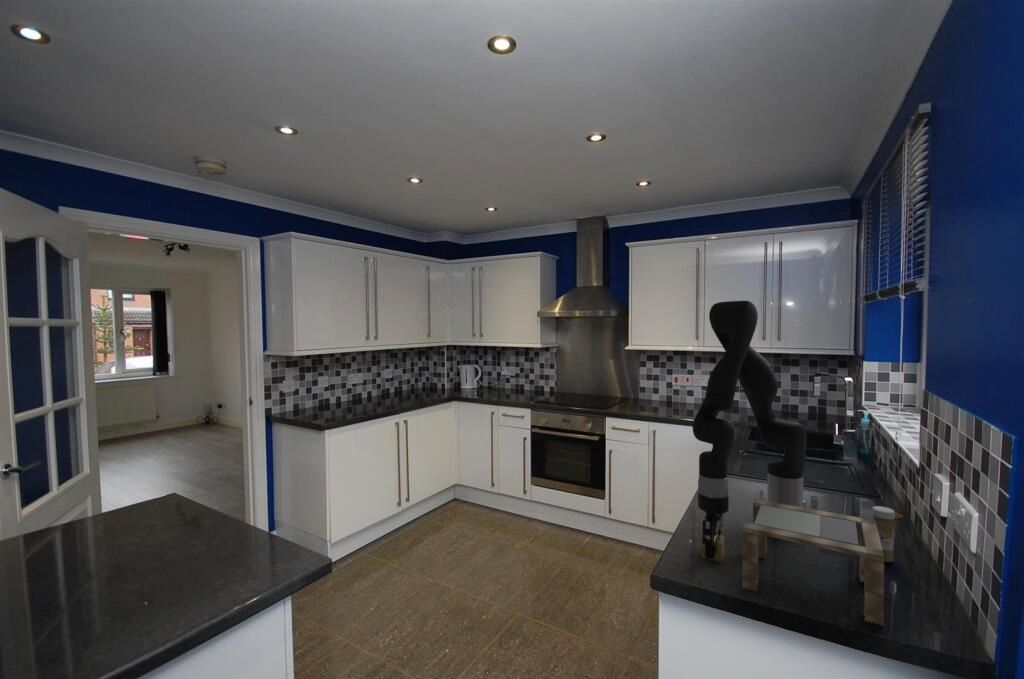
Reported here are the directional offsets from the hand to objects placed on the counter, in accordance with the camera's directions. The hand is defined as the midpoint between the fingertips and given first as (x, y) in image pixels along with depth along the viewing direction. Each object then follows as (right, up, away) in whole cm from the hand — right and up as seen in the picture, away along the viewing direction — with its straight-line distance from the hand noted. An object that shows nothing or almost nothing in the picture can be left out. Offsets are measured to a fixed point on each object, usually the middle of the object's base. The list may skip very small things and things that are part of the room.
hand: (713, 551), depth 124 cm
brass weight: (0, -1, 0) cm, 1 cm away
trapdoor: (+16, +10, -14) cm, 23 cm away
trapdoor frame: (+17, -1, -14) cm, 22 cm away
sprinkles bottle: (+43, -1, -3) cm, 43 cm away
